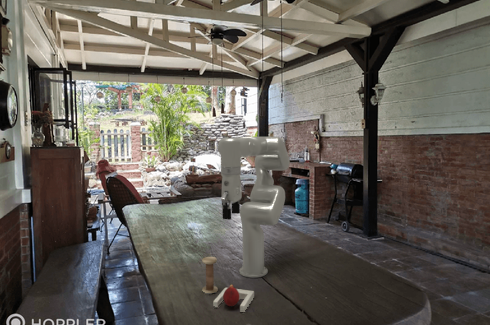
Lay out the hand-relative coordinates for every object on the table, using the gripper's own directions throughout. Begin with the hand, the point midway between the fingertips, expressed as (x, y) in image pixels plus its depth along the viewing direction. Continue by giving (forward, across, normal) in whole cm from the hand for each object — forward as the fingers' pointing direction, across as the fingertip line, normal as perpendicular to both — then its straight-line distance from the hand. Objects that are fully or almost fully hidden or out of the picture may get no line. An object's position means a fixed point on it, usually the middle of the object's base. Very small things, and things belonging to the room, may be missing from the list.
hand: (231, 216), depth 132 cm
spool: (+30, -1, +9) cm, 32 cm away
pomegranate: (+31, -10, -3) cm, 32 cm away
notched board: (+30, -7, -3) cm, 31 cm away
